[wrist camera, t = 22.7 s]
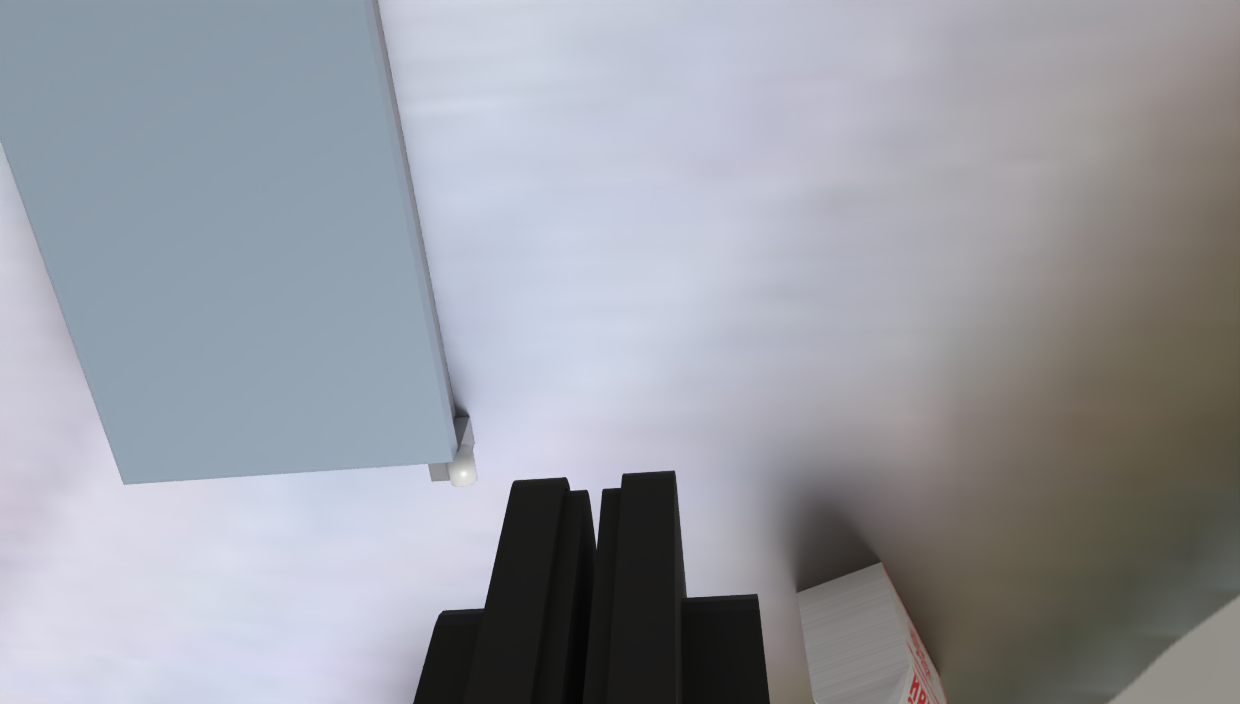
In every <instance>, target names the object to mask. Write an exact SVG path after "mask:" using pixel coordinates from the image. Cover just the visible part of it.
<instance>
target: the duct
mask: <svg viewBox="0 0 1240 704" xmlns="http://www.w3.org/2000/svg"><path fill="white" fill-rule="evenodd" d="M372 4H373V9H374V15H375V20H376V25H377V30H378V35H379V40H380V46H381V51H382V56H383V61H384V66H385V72H386V77H387V82H388V87H389V92H390V98H391V103H392V108H393V113H394V118H395V124H396V129H397V134H398V139H399V144H400V150H401V155H402V160H403V165H404V170H405V175H406V181H407V186H408V191H409V196H410V201H411V207H412V212H413V217H414V222H415V227H416V233H417V238H418V243H419V248H420V253H421V259H422V264H423V269H424V274H425V279H426V284H427V290H428V295H429V300H430V305H431V310H432V316H433V321H434V326H435V331H436V336H437V342H438V347H439V352H440V357H441V362H442V368H443V373H444V378H445V383H446V388H447V394H448V399H449V404H450V409H451V414H452V419H453V425H454V430H455V435H456V440H457V445H458V448H457V451H456V455H455V458H454V461H453V462H446V463H432V464H428V466H429V471H430V475H431V480H432V481H449V480H450V483H451V484H452V485H453V486H455V487H467V486H470V485H472V484H474V483H475V482H476V481H477V479H478V476H477V471H476V465H475V460H474V454H473V447H474V444H475V442H474V437H473V432H472V426H471V421H470V416H469V417H455V414H456V411H455V405H454V400H453V395H452V390H451V384H450V379H449V374H448V369H447V363H446V358H445V353H444V348H443V342H442V337H441V332H440V327H439V321H438V316H437V311H436V306H435V300H434V295H433V290H432V285H431V279H430V274H429V269H428V264H427V258H426V253H425V248H424V243H423V237H422V232H421V227H420V222H419V216H418V211H417V206H416V201H415V195H414V190H413V185H412V180H411V174H410V169H409V164H408V159H407V153H406V148H405V143H404V138H403V132H402V127H401V122H400V117H399V111H398V106H397V101H396V96H395V90H394V85H393V80H392V75H391V69H390V64H389V59H388V53H387V48H386V43H385V38H384V32H383V27H382V22H381V17H380V11H379V6H378V1H377V0H372Z"/></svg>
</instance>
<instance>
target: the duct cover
mask: <svg viewBox="0 0 1240 704" xmlns="http://www.w3.org/2000/svg"><path fill="white" fill-rule="evenodd" d="M0 140H1V143H2V146H3V149H4V151H5V154H6V157H7V160H8V162H9V165H10V168H11V171H12V174H13V176H14V179H15V182H16V185H17V188H18V190H19V193H20V196H21V199H22V202H23V204H24V207H25V210H26V213H27V216H28V218H29V221H30V224H31V227H32V230H33V232H34V235H35V238H36V241H37V244H38V246H39V249H40V252H41V255H42V258H43V260H44V263H45V266H46V269H47V272H48V274H49V277H50V280H51V283H52V286H53V288H54V291H55V294H56V297H57V299H58V302H59V305H60V308H61V311H62V313H63V316H64V319H65V322H66V325H67V327H68V330H69V333H70V336H71V339H72V341H73V344H74V347H75V350H76V353H77V355H78V358H79V361H80V364H81V367H82V369H83V372H84V375H85V378H86V381H87V383H88V386H89V389H90V392H91V395H92V397H93V400H94V403H95V406H96V409H97V411H98V414H99V417H100V420H101V423H102V425H103V428H104V431H105V434H106V436H107V439H108V442H109V445H110V448H111V450H112V453H113V456H114V459H115V462H116V464H117V467H118V470H119V473H120V476H121V478H122V481H123V484H124V485H126V484H141V483H155V482H170V481H184V480H199V479H214V478H228V477H243V476H257V475H272V474H286V473H301V472H315V471H330V470H345V469H359V468H374V467H388V466H403V465H417V464H432V463H446V462H453V461H454V458H455V455H456V451H457V448H458V445H457V440H456V435H455V430H454V425H453V419H452V414H451V409H450V404H449V399H448V394H447V388H446V383H445V378H444V373H443V368H442V362H441V357H440V352H439V347H438V342H437V336H436V331H435V326H434V321H433V316H432V310H431V305H430V300H429V295H428V290H427V284H426V279H425V274H424V269H423V264H422V259H421V253H420V248H419V243H418V238H417V233H416V227H415V222H414V217H413V212H412V207H411V201H410V196H409V191H408V186H407V181H406V175H405V170H404V165H403V160H402V155H401V150H400V144H399V139H398V134H397V129H396V124H395V118H394V113H393V108H392V103H391V98H390V92H389V87H388V82H387V77H386V72H385V66H384V61H383V56H382V51H381V46H380V40H379V35H378V30H377V25H376V20H375V15H374V9H373V4H372V0H0Z"/></svg>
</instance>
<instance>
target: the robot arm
mask: <svg viewBox="0 0 1240 704" xmlns="http://www.w3.org/2000/svg"><path fill="white" fill-rule="evenodd" d="M413 704H770V700H769V691H768V682H767V673H766V664H765V655H764V646H763V637H762V628H761V618H760V609H759V601H758V595H757V594H750V595H731V596H712V597H693V598H687V594H686V583H685V572H684V561H683V550H682V538H681V527H680V516H679V505H678V494H677V484H676V475H675V471H660V472H644V473H628V474H623V475H622V483H621V488H611V489H603V491H602V500H601V510H600V521H599V532H598V543H597V549H596V542H595V534H594V527H593V519H592V512H591V504H590V498H589V493H588V491H587V490H578V491H570V486H569V483H568V480H567V478H566V477H563V478H547V479H530V480H515V481H514V482H513V484H512V487H511V491H510V495H509V500H508V504H507V509H506V513H505V518H504V522H503V527H502V531H501V536H500V540H499V545H498V549H497V554H496V558H495V563H494V567H493V572H492V576H491V581H490V585H489V590H488V594H487V599H486V603H485V608H484V609H465V610H446V611H443V612H442V613H441V614H440V615H439V616H438V619H437V621H436V624H435V627H434V630H433V634H432V637H431V641H430V645H429V648H428V652H427V655H426V659H425V663H424V666H423V670H422V673H421V677H420V681H419V684H418V688H417V692H416V695H415V699H414V702H413Z"/></svg>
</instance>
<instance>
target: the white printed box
mask: <svg viewBox="0 0 1240 704" xmlns="http://www.w3.org/2000/svg"><path fill="white" fill-rule="evenodd" d="M797 599H798V605H799V611H800V618H801V624H802V630H803V637H804V643H805V650H806V656H807V662H808V669H809V675H810V681H811V688H812V694H813V699H814V701H815V703H816V704H948V702H947V699H946V696H945V693H944V689H943V686H942V683H941V679H940V677H939V675H938V673H937V671H936V669H935V667H934V665H933V663H932V661H931V659H930V657H929V655H928V653H927V651H926V649H925V647H924V645H923V643H922V641H921V639H920V637H919V635H918V633H917V631H916V629H915V627H914V625H913V623H912V621H911V619H910V617H909V615H908V613H907V611H906V609H905V607H904V605H903V603H902V601H901V599H900V597H899V595H898V593H897V591H896V589H895V587H894V585H893V583H892V581H891V579H890V577H889V575H888V573H887V571H886V569H885V567H884V565H883V563H882V562H880V563H877V564H874V565H872V566H869V567H866V568H864V569H861V570H858V571H855V572H853V573H850V574H847V575H845V576H842V577H839V578H836V579H834V580H831V581H828V582H825V583H823V584H820V585H817V586H815V587H812V588H809V589H806V590H804V591H801V592H798V593H797Z"/></svg>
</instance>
